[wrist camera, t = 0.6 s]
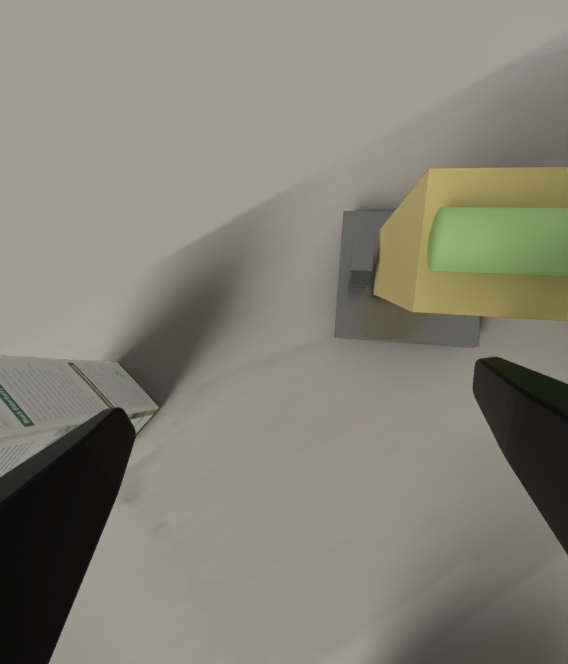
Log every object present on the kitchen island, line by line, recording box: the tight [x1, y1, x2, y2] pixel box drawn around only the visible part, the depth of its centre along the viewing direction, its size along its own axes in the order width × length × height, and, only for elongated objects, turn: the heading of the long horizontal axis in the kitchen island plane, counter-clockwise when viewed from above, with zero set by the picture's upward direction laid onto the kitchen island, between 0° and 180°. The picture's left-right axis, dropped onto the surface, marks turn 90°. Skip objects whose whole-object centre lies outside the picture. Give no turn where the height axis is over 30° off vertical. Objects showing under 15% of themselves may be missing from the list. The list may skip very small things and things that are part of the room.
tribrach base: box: [334, 211, 480, 348], centre depth 20 cm, size 9×9×5 cm
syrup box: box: [0, 355, 159, 477], centre depth 18 cm, size 6×6×14 cm
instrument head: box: [374, 167, 568, 321], centre depth 13 cm, size 4×4×13 cm
